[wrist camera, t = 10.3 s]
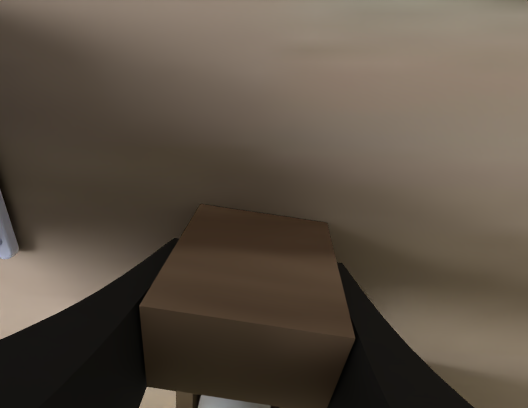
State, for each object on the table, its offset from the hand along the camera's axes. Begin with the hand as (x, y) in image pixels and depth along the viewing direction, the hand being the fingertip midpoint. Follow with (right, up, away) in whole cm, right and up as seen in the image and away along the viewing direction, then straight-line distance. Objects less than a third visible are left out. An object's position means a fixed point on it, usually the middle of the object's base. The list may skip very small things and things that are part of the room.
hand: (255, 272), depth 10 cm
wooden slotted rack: (-1, -5, +4) cm, 7 cm away
